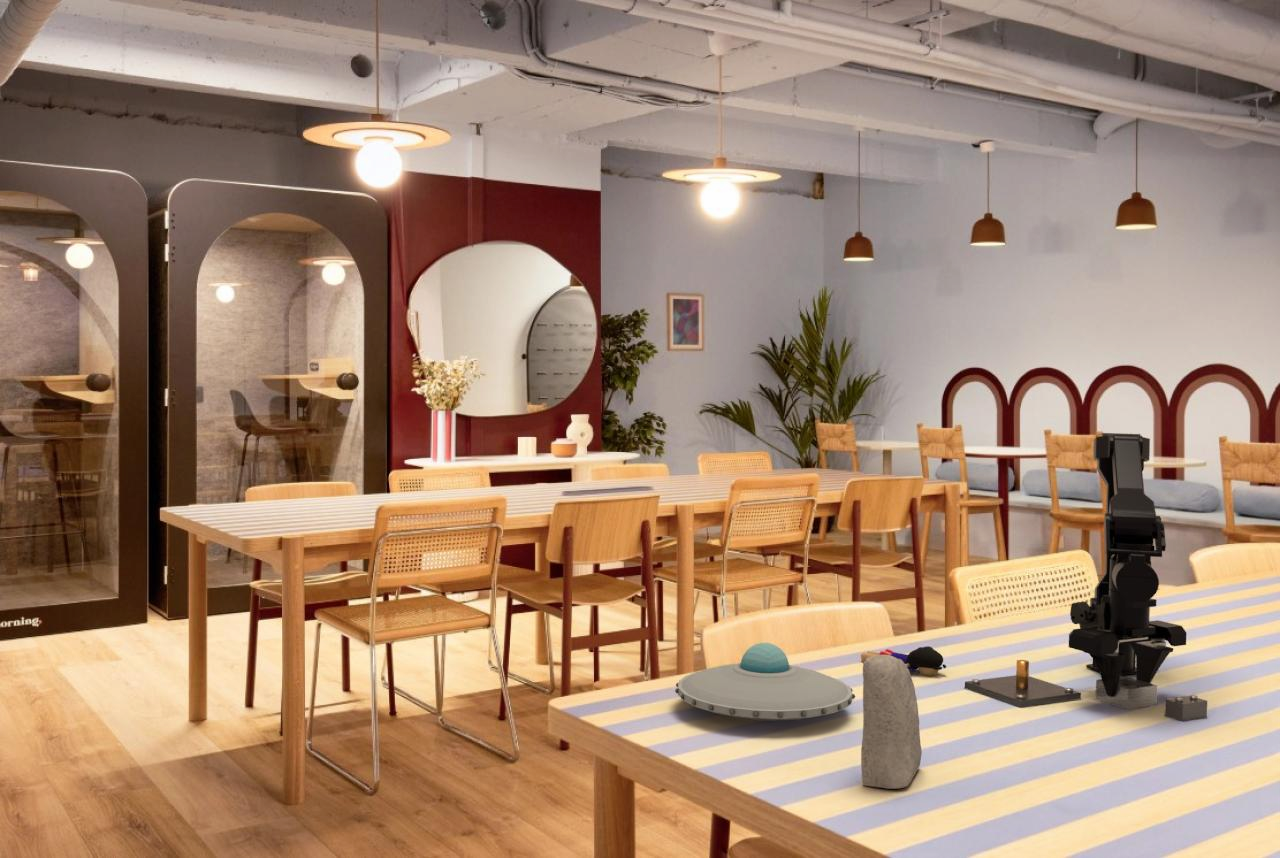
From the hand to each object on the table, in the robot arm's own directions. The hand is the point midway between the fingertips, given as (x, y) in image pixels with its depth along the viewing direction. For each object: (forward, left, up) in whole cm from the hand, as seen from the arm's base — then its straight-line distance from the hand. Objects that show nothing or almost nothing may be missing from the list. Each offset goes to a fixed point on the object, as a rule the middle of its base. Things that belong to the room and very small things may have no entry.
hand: (1126, 694), depth 182 cm
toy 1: (+53, -17, -2) cm, 56 cm away
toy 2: (+18, -30, -2) cm, 35 cm away
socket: (0, 0, -1) cm, 1 cm away
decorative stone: (+54, +13, -2) cm, 55 cm away
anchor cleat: (-2, +9, -1) cm, 9 cm away
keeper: (+11, -10, -1) cm, 15 cm away
